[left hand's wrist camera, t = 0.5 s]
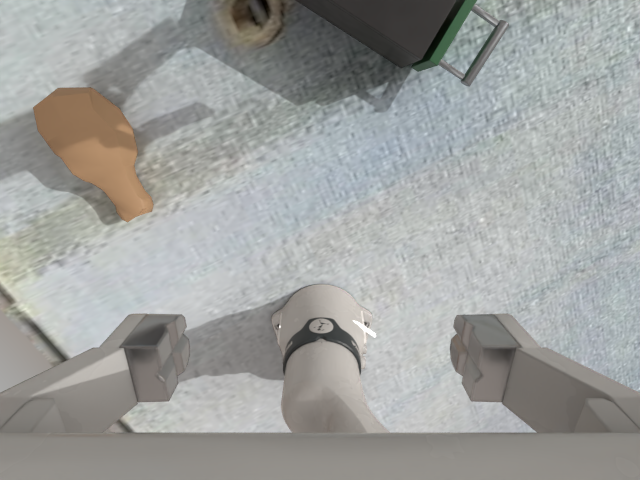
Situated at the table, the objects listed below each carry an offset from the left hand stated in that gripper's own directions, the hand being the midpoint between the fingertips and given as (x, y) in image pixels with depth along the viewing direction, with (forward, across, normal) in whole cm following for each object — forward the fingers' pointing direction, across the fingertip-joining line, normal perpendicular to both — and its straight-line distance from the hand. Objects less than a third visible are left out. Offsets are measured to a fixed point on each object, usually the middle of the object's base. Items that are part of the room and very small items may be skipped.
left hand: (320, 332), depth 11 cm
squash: (+47, -32, -1) cm, 57 cm away
